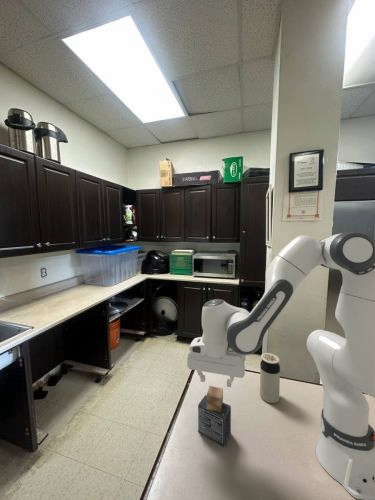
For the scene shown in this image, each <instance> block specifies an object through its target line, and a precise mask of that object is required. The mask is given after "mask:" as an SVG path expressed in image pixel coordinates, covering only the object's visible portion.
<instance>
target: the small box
mask: <svg viewBox="0 0 375 500" xmlns="http://www.w3.org/2000/svg"><path fill="white" fill-rule="evenodd" d="M197 405H198V406H197V410H198V411H197V413H198V415H197V417H198V419H197V422H198V423H197V424H198V425H197V426H198V427H197V428H198V431H197V432H198V433H199V434H201V435H203V436H204V437H206V438H207V439H210V440H211V441H213V442H215V443H217V444H218V445H220V446H222V447H226V445H227V442H228V440H229V438H230V437H231V434H232V432H231V431H232V430H231V429H232V424H231V423H232V411H231V410H232V406H231V405H230V404H227V403H225V402H223V403H222V409H221V412H217V411H213V410H209V409H207V394H205V395H204V396H203V398H202V399H201V401H200V402H199V403H198V404H197Z"/></svg>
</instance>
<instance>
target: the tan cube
mask: <svg viewBox="0 0 375 500" xmlns="http://www.w3.org/2000/svg"><path fill="white" fill-rule="evenodd" d="M206 395H207V409H209V410H213V411H217V412H221V409H222V403H224V388H222V387H218V386H212V385H209V387H208V389H207V393H206Z"/></svg>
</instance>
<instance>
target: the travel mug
mask: <svg viewBox="0 0 375 500" xmlns="http://www.w3.org/2000/svg"><path fill="white" fill-rule="evenodd" d="M260 358H261V361H260V367H259V368H260V371H259V372H260V373H259V374H260V375H259V379H260V380H259V396H260V398H261V399H262V401H265V402H266V403H269V404H277V403H278V402H279V401H280V382H281V381H280V380H281V375H280V374H281V365H280V364H279V362H280V357H279V356H277V355H276V354H273V353H271V352H265V353H262V354H261V357H260Z"/></svg>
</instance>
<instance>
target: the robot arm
mask: <svg viewBox="0 0 375 500" xmlns="http://www.w3.org/2000/svg"><path fill="white" fill-rule="evenodd" d="M318 266H321V267H324V268H327V269H334V270H339V272H340V273H341V276H342V283H341V284H342V285H341V287H340V291H339V295H338V299H337V303H336V308H335V310H334V311H335V312H334V314H335V315H334V316H335V319H336V321H337V322H338V323H339V324H340V326H341V327H342V330H343V331H344V336H345V337H343V336H341V335H339V334H337V333H335V332H332V331H328V330H325V329H316V330H313V331H312V332H311V333H310V334H309V335H308V337H307V340H306V349H307V351H308V352H309V354H310V356H311V357H312V358H313V360H314V363H315V365H316V368H317V370H318V374H319V377H320V380H321V384H322V390H323V393H322V394H323V396H322V397H323V399H322V400H323V403H322V404H323V406H322V407H323V408H322V410H321V415H320V430H321V431H320V435H319V439H318V442H317V443H316V445H315V455H316V458H317V460H318V462H319V464H320V466H321V467H322V468H323V469H324V470H325V471H326V473H327V474H329V476H331V478H333V479H334V480H335V481H337V482H338V484H339V483H340V485H342V486H343V488H344V489H345V490H346V491H347V493H349V494H350V495H351V496H352V497H353V498H355V499H357V500H375V429H374V428H373V427H372V426H371V424H370V423H369V419H370V418H369V417H370V406H369V403H368V400H367V397H366V396H365V394H366V395H368V396H369V397H372V398H373V399H375V241H374V240H373V239H372V238H371V236H369V235H367V234H365V233H362V232H358V231H346V232H342V233H337V234H333V235H330V236H329V237H326V238H323V239H320V240H317V239H316V238H315V237H312V236H310V235H298V236H296V237H295V238H293V239H292V240H291V241H289V242H288V243H287V244H286V245H285V246H284V247H283V248H282V249H281V250H280V251H279V252H278V253H277V254H276V255H275V257H274V258H273V259H272V261H271V262H270V263H269V265H268V266H267V269H266V270H265V283H266V285H265V290H264V293H263V294H262V297H261V298H260V300H259V301H258V302H257V304H256V305H255V306H254V307H253V308H252V310H251V311H248V310H247V309H245V308H243V307H237V306H234V305H233V304H232V305H231V304H229V303H228V302H226V301H225V300H224V299H220V298H215V299H210V300H209V301H206V302H205V303H204V304H203V306H202V310H201V329H202V336H198V337H195V338H193V340H192V341H191V342H190V344H189V347H188V348H189V352H188V353H187V358H186V366H187V368H188V369H189V370H194V371H196V374H197V375H198V377H199V379H200V382H202V383H205V382H206V374H204V373H203V372H206V373H210V374H216V375H217V374H218V375H222V376H228V377H229V378H226V379H227V380H226V387H228V388H232V384H233V382H234V380H235V378H239V379H242V378H244V377H245V374H246V366H245V362H246V358H247V357H246V356H249V355H252V354H255V353H256V352H258V350H260V349H261V346H262V344H263V341H264V337H265V335H266V332H267V331H268V330H269V328H270V327H271V326H272V324H273V323H274V322H275V320H276V319H277V317H278V316H279V315H280V314H281V312H282V311H283V310H284V308H285V307H286V305H287V304H288V302H289V301H290V299H291V297H292V296H293V294H294V293H295V291H297V289H298V287H299V286H300V285H301V284H302V282H303V281H304V280H305V279H306V278H307V277H308V276H309V275H310V273H311V272H312V271H313V270H314V269H316V267H318Z"/></svg>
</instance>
